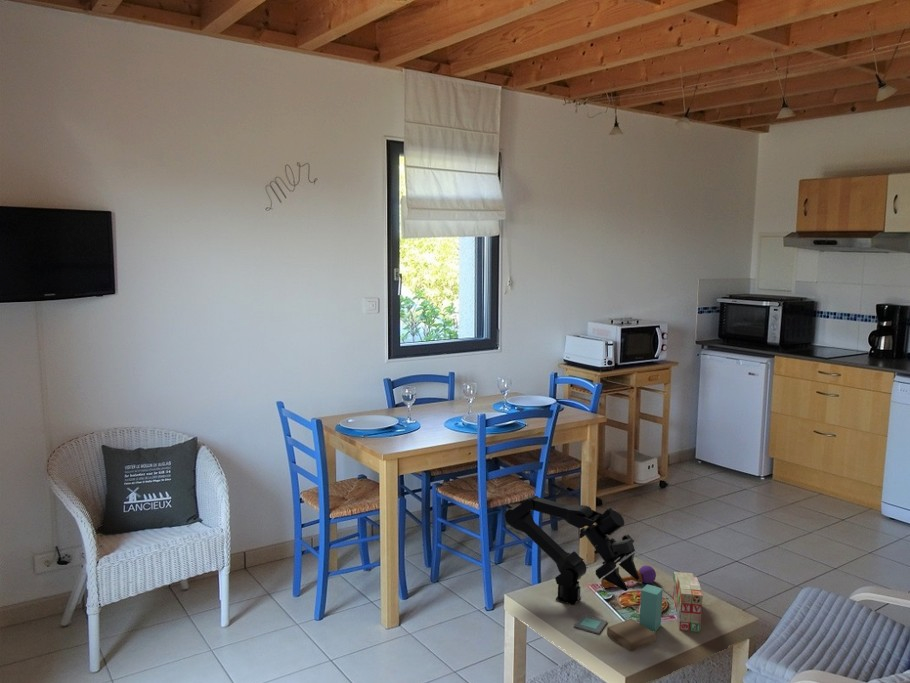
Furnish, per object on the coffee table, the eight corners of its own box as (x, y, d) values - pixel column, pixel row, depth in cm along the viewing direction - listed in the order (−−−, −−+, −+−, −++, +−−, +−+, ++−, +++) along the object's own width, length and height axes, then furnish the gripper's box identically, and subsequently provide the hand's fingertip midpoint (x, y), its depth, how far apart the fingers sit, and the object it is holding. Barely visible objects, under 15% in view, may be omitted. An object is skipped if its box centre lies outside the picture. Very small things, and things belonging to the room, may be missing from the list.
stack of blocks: (672, 597, 242) (674, 562, 240) (691, 599, 241) (693, 564, 239) (679, 630, 221) (681, 592, 220) (700, 633, 220) (703, 595, 218)
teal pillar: (639, 626, 223) (641, 590, 221) (645, 620, 227) (647, 584, 225) (654, 632, 220) (656, 594, 219) (660, 625, 224) (662, 588, 223)
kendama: (598, 573, 251) (648, 562, 256) (600, 590, 250) (650, 579, 256) (606, 577, 245) (658, 566, 251) (608, 595, 245) (660, 583, 250)
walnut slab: (606, 636, 218) (607, 627, 218) (630, 627, 223) (631, 618, 223) (631, 652, 210) (631, 643, 209) (655, 642, 215) (656, 633, 215)
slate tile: (573, 627, 222) (573, 625, 222) (582, 615, 229) (582, 614, 229) (598, 634, 218) (598, 632, 218) (607, 622, 225) (607, 620, 225)
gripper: (606, 538, 219) (639, 583, 214) (630, 520, 234) (662, 561, 229) (581, 556, 225) (613, 600, 220) (606, 537, 240) (637, 578, 235)
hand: (632, 584), depth 226 cm, fingers open, 9 cm apart
